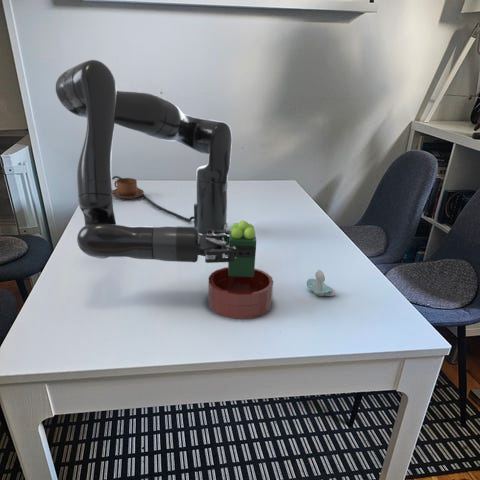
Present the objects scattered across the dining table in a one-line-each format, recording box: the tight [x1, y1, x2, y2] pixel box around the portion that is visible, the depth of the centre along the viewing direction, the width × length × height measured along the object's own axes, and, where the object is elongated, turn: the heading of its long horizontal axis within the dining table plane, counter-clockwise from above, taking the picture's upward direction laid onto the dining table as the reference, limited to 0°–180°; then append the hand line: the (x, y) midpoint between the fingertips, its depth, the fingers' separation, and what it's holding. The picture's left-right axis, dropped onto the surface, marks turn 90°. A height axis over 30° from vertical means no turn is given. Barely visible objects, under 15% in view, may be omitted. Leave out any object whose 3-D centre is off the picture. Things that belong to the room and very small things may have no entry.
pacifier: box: [306, 269, 336, 297], centre depth 111 cm, size 7×6×6 cm
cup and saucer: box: [112, 177, 144, 200], centre depth 174 cm, size 12×12×6 cm
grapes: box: [227, 219, 257, 277], centre depth 99 cm, size 6×6×12 cm
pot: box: [207, 266, 274, 320], centre depth 105 cm, size 15×15×6 cm
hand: (253, 246), depth 99 cm, fingers closed on grapes, 5 cm apart
